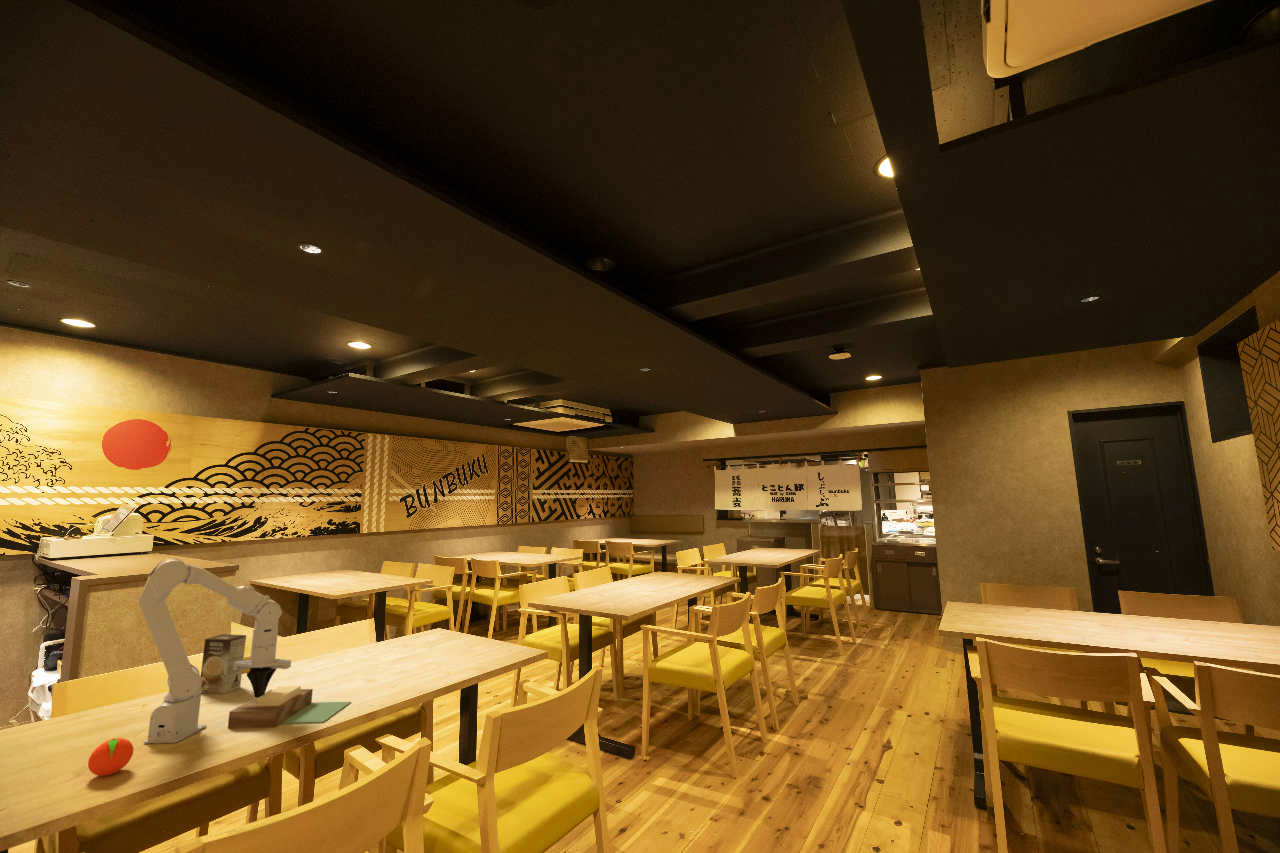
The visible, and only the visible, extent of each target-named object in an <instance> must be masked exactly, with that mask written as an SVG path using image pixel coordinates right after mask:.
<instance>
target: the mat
mask: <svg viewBox="0 0 1280 853" xmlns="http://www.w3.org/2000/svg"><path fill="white" fill-rule="evenodd" d="M351 703H352V702H351V701H323V702H321V701H319V702H318V701H317V702H316V701H315V702H313V701H312V703H311V704H309V705H308V706H306V707H305V708H303V709H302V710H300V711H298V712H297V713H295V714H294V715H292V716H291V717H289V718H287V719H286V720H284V721H283V722H281V723H280V724H281V725H282V724H283V725H285V724H287V725H288V724H289V725H291V724H292V725H294V724H324V723H325V722H326V721H328V720H329V719H331V718H332V717H334V716H335V715H336V714H337V713H339V712H340V711H342V710H343V709H344V708H345V707H347V706H349V705H350V704H351ZM341 709H342V710H341Z"/></svg>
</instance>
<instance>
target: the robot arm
mask: <svg viewBox="0 0 1280 853" xmlns="http://www.w3.org/2000/svg"><path fill="white" fill-rule="evenodd" d="M182 583H184V584H185V585H199V586H200V585H201V586H202V587H204V588H207V589H208V590H210V591H212V592H215V593H217V594H219V595H221V596H223V597H225V598H226V603H227V605H228V606H230V607H231V608H234V609H236V610H238V611H239V612H241V613H244V614H245V615H247V616H253V618H254V619H255V620H254V628H253V630H252V638H251V639H252V640H251V650H250V659H248V660H247V659H245V660H243V661H237V662H235V663H234V665H233V670H238V669H242V670H249V671H248V672H246V677H247V678H248V680H249V682H250V684H251V686H252V692H253V695H254V698H258V697H260V696H262V695H264V694H265V693H266V692H267V691H266V690H267V687H268V685H269V683H270V681H271V680H272V677H273V675H274V674H275V673H276V671H277V670H278V669H282V670H287V669H290V668H291V667H292V659H282V658H276V656H277V655H276V653H277V643H278V632H279V618H281V616H282V614H283V610H282V607H281V605H280V604H279V603H277V602H276V601H275V600H274V599H272V598H271V597H270V596H269V595H267V594H266V595H263V594H262V593H259V592H258V591H256V590H255V587H253V585H252V586H251V585H249V586H246V585H240V586H234V585H233V584H230V583H229V582H227V581H226V580H224V579H222V578H220V577H219V576H217V575H215V574H214V573H212V572H210V571H208V570H206V569H205V568H202V567H200V566H197V565H195V564H191V563H189V562H186V564H185V562H184V561H183V560H182V559H180V558H174V557H173V558H167V559H164V560H161V561H160V562H159V563H158V564H157V565H156V566H155V567H154V568H153V569H152V570H151V571H150V572H149V575H148V577H147V580H146V582H145V584H144V586H143V589H142V592H141V594H140V596H139V598H138V605H139V607H140V610H141V612H142V614H143V618H144V619H145V622H146V624H147V626H148V629H149V631H150V634H151V636H152V639H153V641H154V643H155V644H154V645H155V646H156V649H157V650H158V653H159V656H160V658H161V660H162V663H163V665H164V668H165V670H166V673H167V676H168V677H167V686H168V693H167V694H166V695H165V696H164V697H163V702H162V703H161V704H160V705H159V706H157V707H156V708H155V709H154V710H153V711H152V713H151V715H150V718H149V719H150V720H149V725H148V732H147V733H148V734H147V735H148V736H147V739H145V740H144V741H143V744H167V743H168V744H171V743H179V742H181V741H182V740H184V739H186V738H188V737H189V736H192V735H193V734H194V733H197V732H199V731H201V730H203V729H205V728H206V727H207V724H199V716H200V708H201V707H200V706H201V701H202V700H201V698H202V693H201V690H199V689H200V688H201V686H202V678H201V674H200V670H199V669H198V668H197V667H196V666H195V665H193V664H192V663H191V662H190V659H189V657H188V654H187V652H186V650H185V647H184V645H183V642H182V640H181V638H180V635H179V633H178V631H177V628H176V625H175V623H174V621H173V619H172V616H171V614H170V611H169V609H168V608H169V607H168V606H167V604H166V600H167V599H168V597H169V595H170V594H171V593H172V592H173V590H174V589H175V588H176V587H178V586H179V585H180V584H182Z"/></svg>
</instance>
